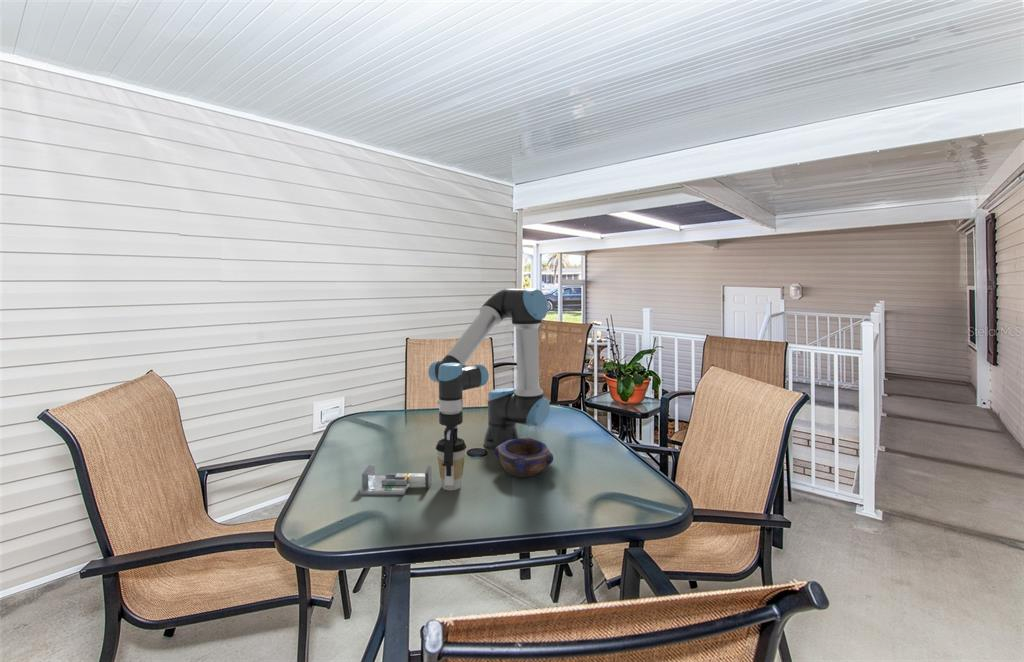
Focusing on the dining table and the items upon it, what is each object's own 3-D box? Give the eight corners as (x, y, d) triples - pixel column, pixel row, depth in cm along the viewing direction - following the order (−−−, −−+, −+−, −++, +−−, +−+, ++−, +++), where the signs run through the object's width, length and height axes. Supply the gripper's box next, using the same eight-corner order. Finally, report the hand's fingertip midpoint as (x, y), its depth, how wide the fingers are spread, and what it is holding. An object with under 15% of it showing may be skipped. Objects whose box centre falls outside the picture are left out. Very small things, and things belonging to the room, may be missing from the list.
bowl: (513, 487, 149) (513, 457, 148) (489, 468, 165) (489, 441, 164) (559, 477, 158) (559, 449, 157) (532, 460, 173) (533, 434, 173)
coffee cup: (471, 482, 153) (471, 438, 152) (458, 494, 144) (458, 448, 143) (445, 478, 156) (444, 435, 155) (430, 490, 147) (430, 444, 146)
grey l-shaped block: (412, 478, 156) (412, 462, 156) (404, 494, 144) (404, 477, 144) (371, 479, 156) (370, 463, 155) (359, 494, 144) (359, 477, 143)
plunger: (431, 480, 153) (431, 465, 153) (427, 490, 145) (427, 475, 145) (398, 480, 153) (398, 466, 153) (392, 491, 145) (392, 475, 145)
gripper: (444, 402, 159) (444, 464, 161) (433, 421, 137) (434, 493, 138) (465, 402, 159) (466, 464, 161) (458, 421, 137) (459, 493, 139)
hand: (451, 477), depth 150 cm, fingers open, 10 cm apart
